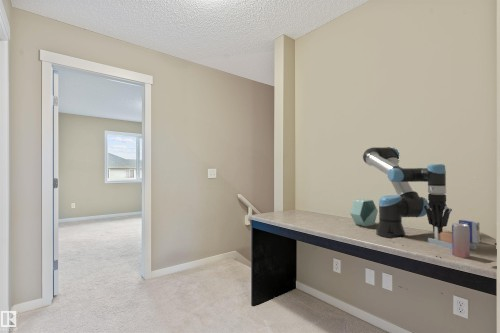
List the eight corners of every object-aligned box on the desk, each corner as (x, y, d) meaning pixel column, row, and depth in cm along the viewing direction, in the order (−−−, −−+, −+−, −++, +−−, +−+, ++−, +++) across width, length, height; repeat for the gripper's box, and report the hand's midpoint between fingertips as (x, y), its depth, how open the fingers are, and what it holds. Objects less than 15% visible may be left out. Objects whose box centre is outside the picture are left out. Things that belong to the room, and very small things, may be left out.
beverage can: (449, 256, 114) (448, 223, 114) (463, 256, 114) (462, 223, 114) (458, 261, 108) (458, 226, 108) (473, 261, 108) (473, 226, 108)
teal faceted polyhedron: (368, 232, 173) (356, 209, 168) (358, 230, 180) (347, 207, 175) (380, 216, 180) (370, 193, 175) (370, 215, 187) (360, 192, 182)
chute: (427, 244, 131) (427, 238, 131) (441, 242, 134) (441, 236, 134) (461, 255, 115) (461, 247, 116) (477, 252, 119) (477, 244, 119)
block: (440, 244, 127) (440, 232, 127) (448, 243, 129) (448, 231, 129) (453, 248, 121) (453, 235, 121) (461, 246, 123) (461, 234, 123)
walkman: (459, 241, 135) (458, 219, 135) (461, 241, 136) (461, 219, 136) (477, 246, 128) (476, 222, 128) (480, 245, 129) (479, 221, 129)
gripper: (419, 193, 136) (420, 236, 136) (445, 195, 124) (446, 243, 123) (429, 192, 138) (430, 235, 138) (455, 194, 126) (456, 241, 126)
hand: (437, 239), depth 131 cm, fingers closed
